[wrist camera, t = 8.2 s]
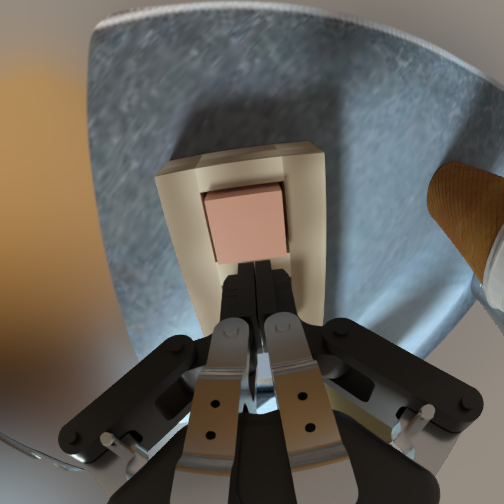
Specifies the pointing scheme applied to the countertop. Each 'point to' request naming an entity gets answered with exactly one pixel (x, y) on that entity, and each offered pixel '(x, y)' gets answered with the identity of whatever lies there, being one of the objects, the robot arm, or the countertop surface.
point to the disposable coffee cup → (473, 221)
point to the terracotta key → (247, 222)
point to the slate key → (263, 366)
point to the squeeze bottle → (359, 414)
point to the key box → (295, 220)
